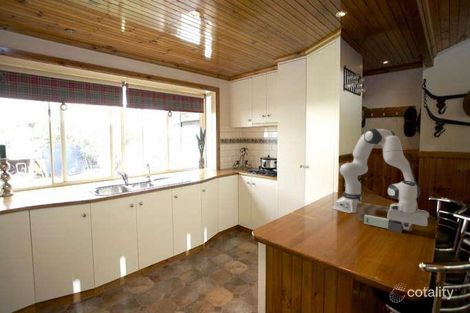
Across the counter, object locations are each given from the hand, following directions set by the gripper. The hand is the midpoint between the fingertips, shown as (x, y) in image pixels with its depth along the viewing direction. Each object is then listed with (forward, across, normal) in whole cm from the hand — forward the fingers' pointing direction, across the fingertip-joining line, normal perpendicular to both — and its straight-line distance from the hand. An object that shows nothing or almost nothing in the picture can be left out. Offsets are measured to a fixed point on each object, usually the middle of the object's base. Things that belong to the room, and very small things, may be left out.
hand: (406, 229), depth 147 cm
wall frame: (+2, +13, -6) cm, 15 cm away
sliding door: (+2, +16, 0) cm, 16 cm away
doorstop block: (+2, +6, 0) cm, 6 cm away
